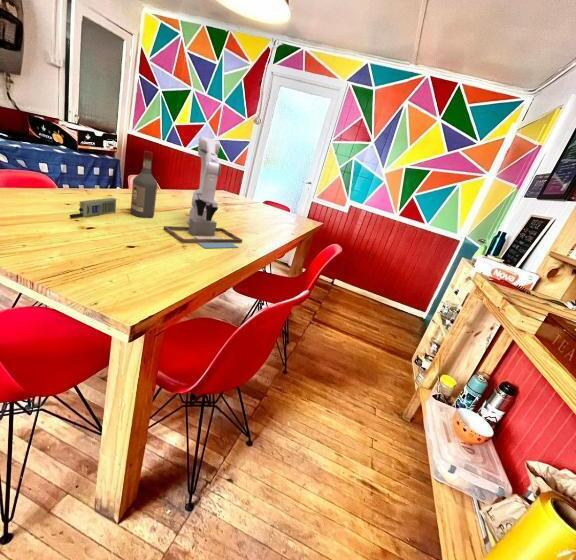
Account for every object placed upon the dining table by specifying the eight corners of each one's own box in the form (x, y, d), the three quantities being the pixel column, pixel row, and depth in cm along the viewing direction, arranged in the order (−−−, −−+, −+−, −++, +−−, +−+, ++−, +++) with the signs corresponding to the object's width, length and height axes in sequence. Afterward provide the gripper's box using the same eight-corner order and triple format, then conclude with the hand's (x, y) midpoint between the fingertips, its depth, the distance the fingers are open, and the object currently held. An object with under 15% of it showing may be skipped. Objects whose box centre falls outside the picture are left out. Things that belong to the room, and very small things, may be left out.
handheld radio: (117, 213, 150) (74, 220, 127) (110, 211, 151) (67, 218, 127) (117, 198, 148) (74, 203, 125) (111, 197, 148) (66, 201, 125)
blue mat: (197, 243, 140) (197, 242, 140) (231, 243, 153) (231, 242, 153) (204, 248, 136) (204, 247, 136) (238, 248, 149) (238, 247, 149)
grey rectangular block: (187, 233, 150) (190, 218, 148) (209, 233, 159) (212, 220, 156) (192, 236, 148) (194, 221, 145) (214, 236, 157) (216, 222, 154)
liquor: (145, 212, 163) (151, 151, 152) (156, 218, 159) (163, 155, 148) (128, 212, 155) (133, 147, 145) (138, 218, 151) (145, 152, 141)
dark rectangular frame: (163, 229, 145) (163, 226, 145) (222, 231, 168) (222, 228, 168) (181, 243, 135) (182, 239, 134) (241, 242, 158) (242, 239, 158)
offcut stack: (193, 239, 145) (193, 235, 145) (221, 239, 156) (221, 236, 156) (197, 242, 143) (198, 239, 142) (226, 242, 154) (226, 239, 153)
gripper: (193, 184, 147) (188, 212, 152) (210, 192, 138) (204, 222, 143) (206, 186, 152) (201, 213, 157) (223, 194, 144) (218, 223, 148)
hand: (204, 218), depth 150 cm, fingers open, 7 cm apart
